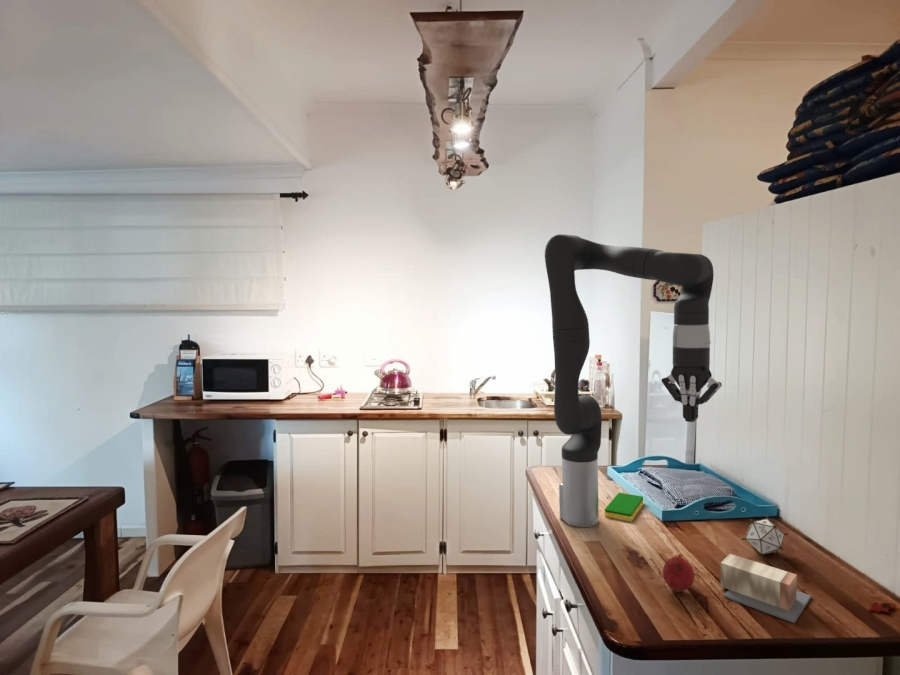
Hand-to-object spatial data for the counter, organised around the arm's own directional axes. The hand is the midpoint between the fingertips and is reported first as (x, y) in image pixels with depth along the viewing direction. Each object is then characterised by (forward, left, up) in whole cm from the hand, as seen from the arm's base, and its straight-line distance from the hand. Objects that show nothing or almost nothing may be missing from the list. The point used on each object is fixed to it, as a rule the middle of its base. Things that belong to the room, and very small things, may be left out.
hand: (690, 421), depth 119 cm
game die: (+12, +11, -31) cm, 35 cm away
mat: (+18, -7, -31) cm, 36 cm away
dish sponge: (-23, +12, -32) cm, 41 cm away
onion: (+5, -17, -31) cm, 36 cm away
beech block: (+10, -8, -28) cm, 31 cm away
